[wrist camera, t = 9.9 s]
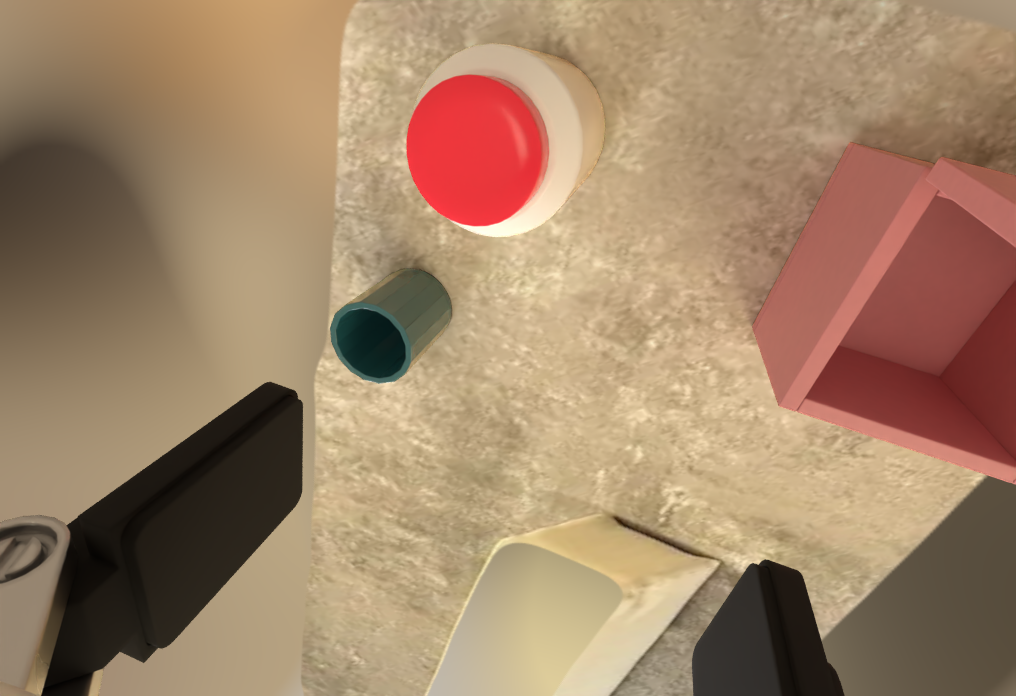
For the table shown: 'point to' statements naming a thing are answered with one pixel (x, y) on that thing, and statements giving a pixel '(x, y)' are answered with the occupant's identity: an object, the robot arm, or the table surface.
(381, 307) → the cup
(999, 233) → the lid
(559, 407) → the table surface
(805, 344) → the pink box
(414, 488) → the table surface
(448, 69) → the pill bottle
